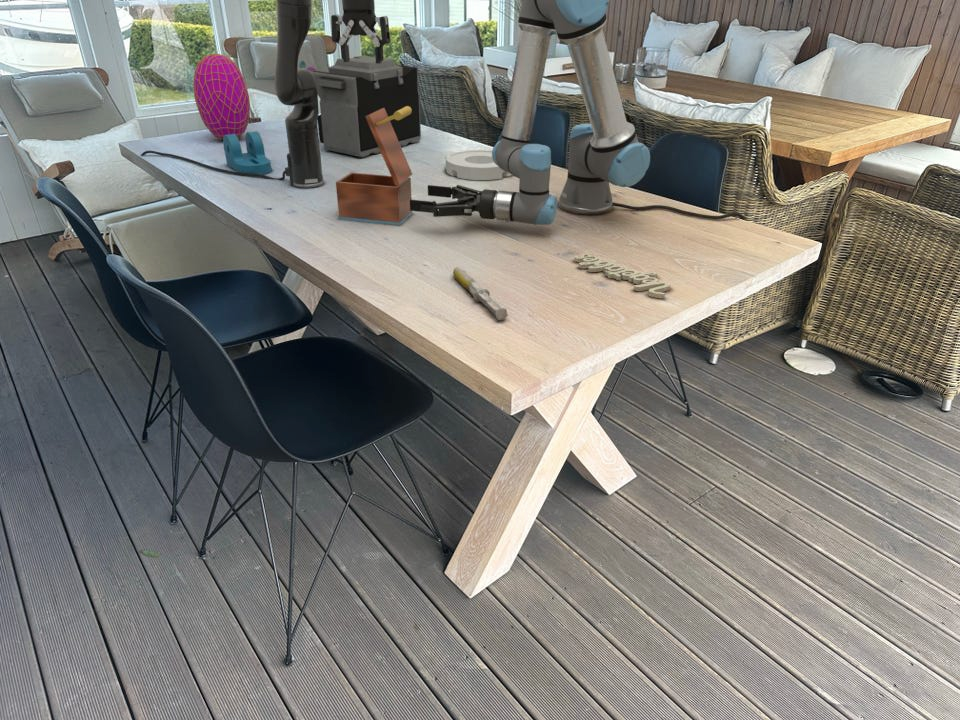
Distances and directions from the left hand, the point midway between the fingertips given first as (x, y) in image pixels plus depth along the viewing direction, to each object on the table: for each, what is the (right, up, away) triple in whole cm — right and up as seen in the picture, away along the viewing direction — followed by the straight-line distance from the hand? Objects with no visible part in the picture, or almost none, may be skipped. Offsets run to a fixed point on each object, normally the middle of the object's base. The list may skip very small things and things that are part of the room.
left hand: (362, 62), depth 169 cm
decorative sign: (+62, -54, -13) cm, 83 cm away
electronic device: (-12, +7, +89) cm, 90 cm away
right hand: (+13, -30, +14) cm, 35 cm away
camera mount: (-47, -9, +60) cm, 77 cm away
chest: (0, -34, +20) cm, 39 cm away
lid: (+5, -18, +9) cm, 21 cm away
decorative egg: (-68, +12, +96) cm, 118 cm away
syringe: (+29, -60, -24) cm, 71 cm away
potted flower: (-43, +27, +123) cm, 133 cm away
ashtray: (+29, -10, +61) cm, 68 cm away
